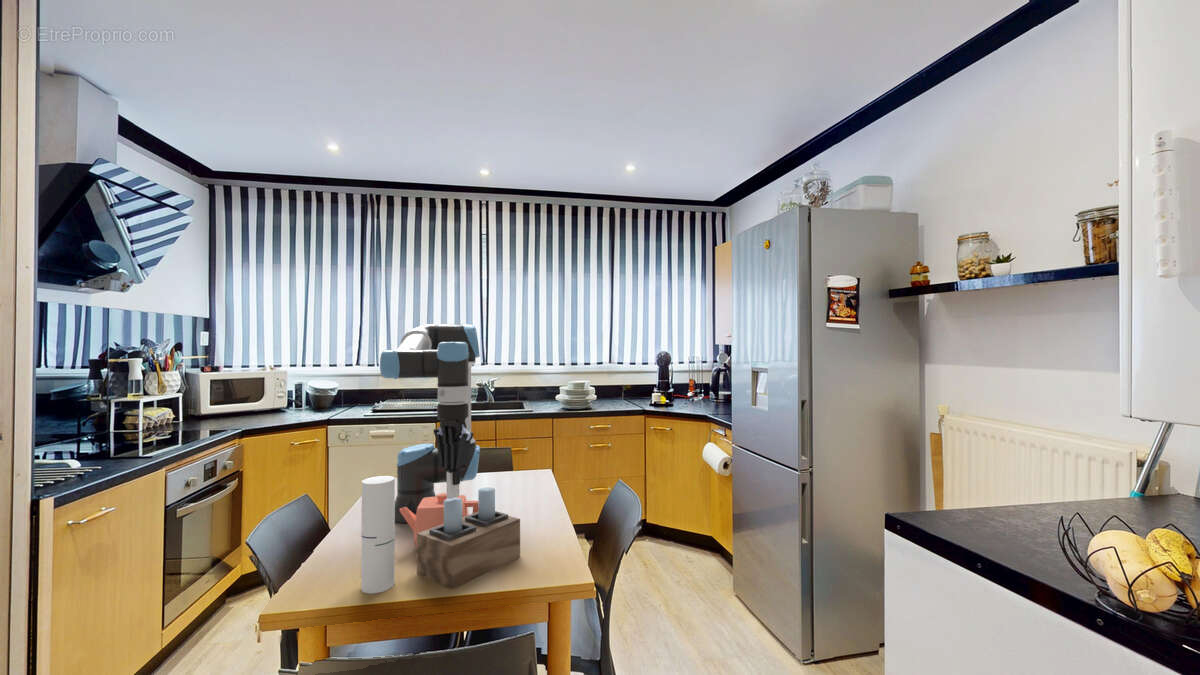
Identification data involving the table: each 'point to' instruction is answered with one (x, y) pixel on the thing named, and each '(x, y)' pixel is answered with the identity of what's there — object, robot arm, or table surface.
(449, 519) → the peg front
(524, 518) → the table surface
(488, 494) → the peg rear
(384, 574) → the cylindrical container
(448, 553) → the wooden peg block
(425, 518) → the teapot
